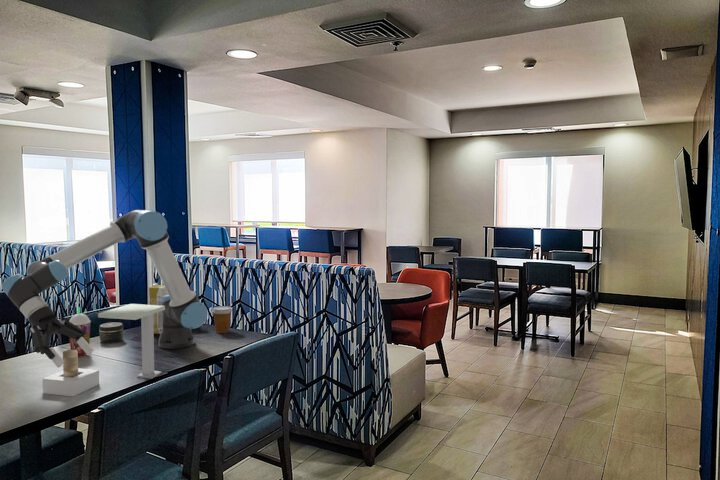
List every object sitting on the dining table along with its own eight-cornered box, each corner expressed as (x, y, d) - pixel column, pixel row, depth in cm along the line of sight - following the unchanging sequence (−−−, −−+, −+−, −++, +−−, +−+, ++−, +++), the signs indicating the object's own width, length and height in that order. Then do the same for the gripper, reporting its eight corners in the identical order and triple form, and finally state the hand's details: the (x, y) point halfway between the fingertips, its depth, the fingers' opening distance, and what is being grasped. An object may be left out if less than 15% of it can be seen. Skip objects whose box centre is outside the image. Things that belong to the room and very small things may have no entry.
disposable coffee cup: (214, 335, 251) (214, 310, 250) (210, 330, 259) (210, 306, 258) (234, 332, 255) (234, 309, 254) (229, 328, 264) (229, 305, 263)
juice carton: (156, 329, 260) (155, 282, 258) (171, 330, 259) (170, 282, 257) (146, 333, 251) (145, 285, 249) (161, 334, 250) (160, 285, 248)
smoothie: (81, 357, 212) (80, 309, 211) (64, 356, 214) (62, 308, 212) (95, 352, 220) (94, 305, 219) (78, 350, 222) (77, 304, 221)
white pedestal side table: (99, 380, 186) (98, 313, 185) (131, 364, 204) (130, 303, 202) (141, 384, 183) (140, 316, 181) (170, 368, 200) (169, 306, 199)
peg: (77, 382, 181) (77, 348, 180) (78, 386, 177) (78, 352, 176) (63, 384, 178) (62, 350, 177) (64, 388, 175) (63, 354, 174)
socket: (70, 381, 185) (69, 367, 185) (99, 384, 183) (98, 370, 182) (42, 393, 173) (42, 378, 173) (73, 396, 171) (73, 381, 170)
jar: (116, 344, 233) (116, 327, 233) (95, 343, 233) (94, 327, 233) (127, 338, 243) (127, 322, 242) (106, 337, 243) (105, 321, 243)
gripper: (59, 312, 192) (95, 355, 190) (-1, 328, 167) (40, 377, 165) (71, 299, 190) (108, 341, 188) (13, 313, 166) (54, 362, 164)
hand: (76, 358), depth 177 cm, fingers open, 13 cm apart
